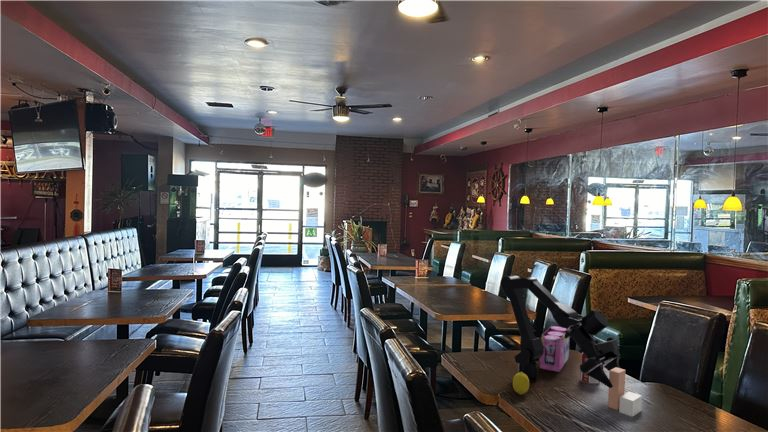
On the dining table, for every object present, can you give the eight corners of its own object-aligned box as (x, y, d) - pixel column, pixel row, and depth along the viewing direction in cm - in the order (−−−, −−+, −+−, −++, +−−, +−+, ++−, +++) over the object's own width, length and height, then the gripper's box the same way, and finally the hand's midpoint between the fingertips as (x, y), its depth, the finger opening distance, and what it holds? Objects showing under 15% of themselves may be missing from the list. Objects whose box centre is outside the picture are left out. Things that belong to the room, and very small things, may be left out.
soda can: (601, 387, 172) (603, 354, 172) (582, 385, 174) (583, 352, 173) (597, 380, 179) (598, 348, 179) (578, 378, 180) (579, 347, 180)
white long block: (577, 399, 160) (578, 383, 160) (587, 394, 165) (588, 378, 165) (632, 418, 147) (633, 401, 147) (641, 412, 151) (642, 395, 151)
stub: (607, 406, 154) (609, 370, 153) (614, 402, 157) (616, 367, 157) (617, 410, 151) (619, 373, 151) (623, 406, 155) (625, 369, 154)
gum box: (559, 373, 185) (560, 339, 185) (538, 369, 189) (539, 335, 189) (569, 357, 206) (570, 326, 205) (550, 354, 210) (551, 323, 209)
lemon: (529, 393, 164) (530, 370, 164) (528, 399, 159) (529, 375, 159) (512, 390, 166) (513, 368, 166) (511, 396, 161) (512, 373, 161)
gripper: (590, 334, 151) (624, 378, 143) (615, 325, 163) (648, 365, 155) (566, 352, 157) (598, 395, 149) (592, 342, 170) (622, 382, 162)
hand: (617, 384), depth 154 cm, fingers open, 9 cm apart
